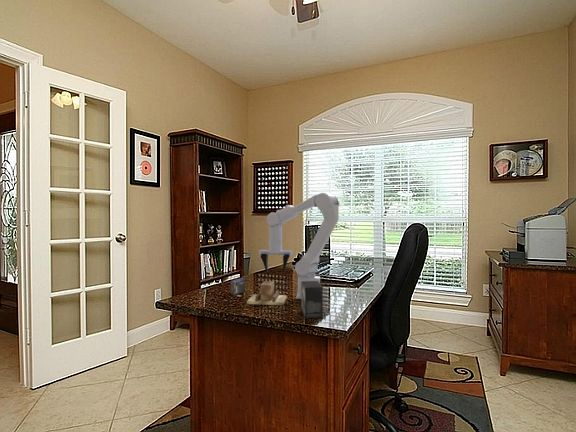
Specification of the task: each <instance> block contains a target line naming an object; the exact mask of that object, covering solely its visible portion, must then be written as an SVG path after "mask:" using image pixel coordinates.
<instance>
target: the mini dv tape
mask: <svg viewBox="0 0 576 432" xmlns="http://www.w3.org/2000/svg"><path fill="white" fill-rule="evenodd" d="M245 292H246V279H245V278H244V277H241V278H236V279H233V280H231V281H230V295H231V296H235V295H239V294H241V293H245Z"/></svg>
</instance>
